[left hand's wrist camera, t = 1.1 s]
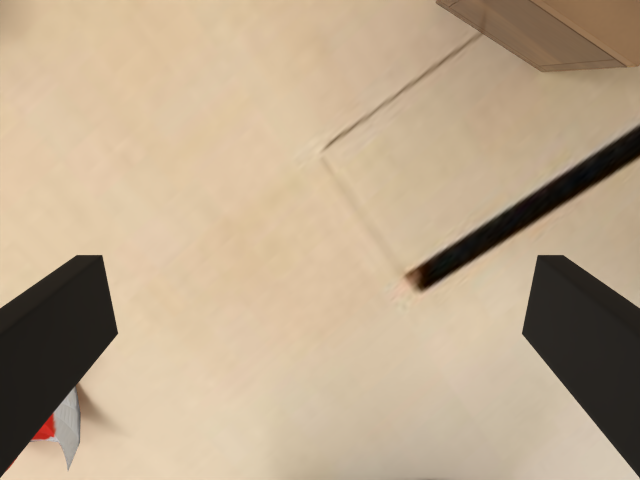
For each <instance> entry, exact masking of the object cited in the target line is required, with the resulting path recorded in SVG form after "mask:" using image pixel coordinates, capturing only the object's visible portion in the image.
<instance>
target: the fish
mask: <svg viewBox="0 0 640 480" xmlns="http://www.w3.org/2000/svg"><path fill="white" fill-rule="evenodd" d="M41 440H47V441H53V442H59V444H60V445H61V447H62V449H63V452H64V455H65V458H66V462H67V468H68V470H69V468H70V465H71V463H72V460H73V458H74V455H75V453H76V450H77V448H78V446H79V443H80V408H79V402H78V396H77V390H76V386H75V387H74V388H73V389H72V391H71V392H70V393H69V394H68V395H67V397H66V398H65V399H64V400H63V402H62V403H61V404H60V405H59V407H58V408H57V409H56V410H55V411H54V413H53V414H52V415H51V416H50V418H49V419H48V420H47V421H46V422H45V424H44V425H43V426H42V427H41V429H40V430H39V431H38V432H37V433H36V435H35V436H34V437H33V438H32V440H31V441H30V442H32V441H41ZM15 460H16V459H15ZM15 460H14V461H15ZM13 463H14V462H13ZM13 463H12V464H13ZM12 464H11V465H12ZM11 465H10V466H11ZM9 468H10V467H9ZM9 468H8V469H9ZM8 469H7V470H8ZM7 470H6V471H7ZM6 471H5V472H6Z"/></svg>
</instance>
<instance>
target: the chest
mask: <svg viewBox="0 0 640 480" xmlns="http://www.w3.org/2000/svg"><path fill="white" fill-rule="evenodd" d="M436 3H437V4H438V5H440V6H441V7H443V8H445V9H446V10H448V11H449V12H451V13H452V14H454V15H455V16H457V17H458V18H460V19H461V20H463V21H465V22H466V23H468V24H469V25H471V26H472V27H474V28H475V29H477V30H478V31H480V32H481V33H483V34H485V35H486V36H488V37H489V38H491V39H492V40H494V41H495V42H497V43H498V44H500V45H501V46H503V47H504V48H506V49H508V50H509V51H511V52H512V53H514V54H515V55H517V56H518V57H520V58H521V59H523V60H524V61H526V62H528V63H529V64H531V65H532V66H534V67H535V68H537V69H538V70H540V71H541V72H552V71H570V70H587V69H604V68H622V67H627V66H626V65H624V64H623V63H622V62H620V61H619V60H617V59H616V58H614V57H613V56H611V55H610V54H608V53H607V52H605V51H604V50H603V49H601V48H600V47H598V46H597V45H595V44H594V43H592V42H591V41H589V40H588V39H586V38H585V37H584V36H582V35H581V34H579V33H578V32H576V31H575V30H573V29H572V28H570V27H569V26H567V25H566V24H565V23H563V22H562V21H560V20H559V19H557V18H556V17H554V16H553V15H551V14H550V13H548V12H547V11H546V10H544V9H543V8H541V7H540V6H538V5H537V4H535V3H534V2H532V1H531V0H437V1H436Z"/></svg>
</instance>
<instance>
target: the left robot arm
mask: <svg viewBox="0 0 640 480" xmlns="http://www.w3.org/2000/svg"><path fill="white" fill-rule="evenodd" d="M117 334H118V331H117V326H116V321H115V316H114V311H113V306H112V301H111V296H110V291H109V286H108V281H107V276H106V271H105V267H104V262H103V257H102V255H76V256H75V257H74V258H72V259H71V260H69V261H68V262H66V263H65V264H63V265H62V266H61V267H59V268H58V269H56V270H55V271H53V272H52V273H51V274H49V275H48V276H46V277H45V278H43V279H42V280H40V281H39V282H38V283H36V284H35V285H33V286H32V287H30V288H29V289H28V290H26V291H25V292H23V293H22V294H20V295H19V296H17V297H16V298H15V299H13V300H12V301H10V302H9V303H7V304H6V305H4V306H3V307H2V308H0V478H1V476H2V475H3V474H4V473H5V471H6V470H7V469H8V468H9V467H10V465H11V464H12V463H13V462H14V460H15V459H16V458H17V457H18V455H19V454H20V453H21V452H22V451H23V449H24V448H25V447H26V446H27V444H28V443H29V442H30V441H31V440H32V438H33V437H34V436H35V435H36V433H37V432H38V431H39V430H40V429H41V427H42V426H43V425H44V424H45V422H46V421H47V420H48V419H49V418H50V416H51V415H52V414H53V413H54V411H55V410H56V409H57V408H58V407H59V405H60V404H61V403H62V402H63V400H64V399H65V398H66V397H67V395H68V394H69V393H70V392H71V391H72V389H73V388H74V387H75V386H76V384H77V383H78V382H79V381H80V380H81V378H82V377H83V376H84V375H85V373H86V372H87V371H88V370H89V369H90V367H91V366H92V365H93V364H94V362H95V361H96V360H97V359H98V358H99V356H100V355H101V354H102V353H103V351H104V350H105V349H106V348H107V346H108V345H109V344H110V343H111V342H112V340H113V339H114V338H115V337H116V335H117ZM522 334H523V335H524V337H525V338H526V339H527V340H528V342H529V343H530V344H531V345H532V346H533V348H534V349H535V350H536V351H537V353H538V354H539V355H540V356H541V358H542V359H543V360H544V361H545V362H546V364H547V365H548V366H549V367H550V369H551V370H552V371H553V372H554V373H555V375H556V376H557V377H558V378H559V380H560V381H561V382H562V383H563V384H564V386H565V387H566V388H567V389H568V391H569V392H570V393H571V394H572V395H573V397H574V398H575V399H576V400H577V402H578V403H579V404H580V405H581V407H582V408H583V409H584V410H585V411H586V413H587V414H588V415H589V416H590V418H591V419H592V420H593V421H594V422H595V424H596V425H597V426H598V427H599V429H600V430H601V431H602V432H603V433H604V435H605V436H606V437H607V438H608V440H609V441H610V442H611V443H612V444H613V446H614V447H615V448H616V449H617V451H618V452H619V453H620V454H621V455H622V457H623V458H624V459H625V460H626V462H627V463H628V464H629V465H630V467H631V468H632V469H633V470H634V471H635V473H636V474H637V475H638V476H639V478H640V308H638V307H637V306H635V305H634V304H633V303H631V302H630V301H628V300H627V299H625V298H624V297H623V296H621V295H620V294H618V293H617V292H615V291H614V290H612V289H611V288H610V287H608V286H607V285H605V284H604V283H602V282H601V281H600V280H598V279H597V278H595V277H594V276H592V275H591V274H589V273H588V272H587V271H585V270H584V269H582V268H581V267H579V266H578V265H577V264H575V263H574V262H572V261H571V260H569V259H568V258H566V257H565V256H564V255H538V257H537V262H536V267H535V271H534V276H533V281H532V286H531V291H530V296H529V301H528V306H527V311H526V316H525V321H524V326H523V331H522Z"/></svg>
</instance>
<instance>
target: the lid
mask: <svg viewBox="0 0 640 480" xmlns="http://www.w3.org/2000/svg"><path fill="white" fill-rule="evenodd" d="M531 1H532V2H534V3H535V4H537V5H538V6H540V7H541V8H543V9H544V10H546V11H547V12H548V13H550V14H551V15H553V16H554V17H556V18H557V19H559V20H560V21H562V22H563V23H565V24H566V25H567V26H569V27H570V28H572V29H573V30H575V31H576V32H578V33H579V34H581V35H582V36H584V37H585V38H586V39H588V40H589V41H591V42H592V43H594V44H595V45H597V46H598V47H600V48H601V49H603V50H604V51H605V52H607V53H608V54H610V55H611V56H613V57H614V58H616V59H617V60H619V61H620V62H622V63H623V64H624V65H626V66H627V67H636V66H639V65H640V0H531Z"/></svg>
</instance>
